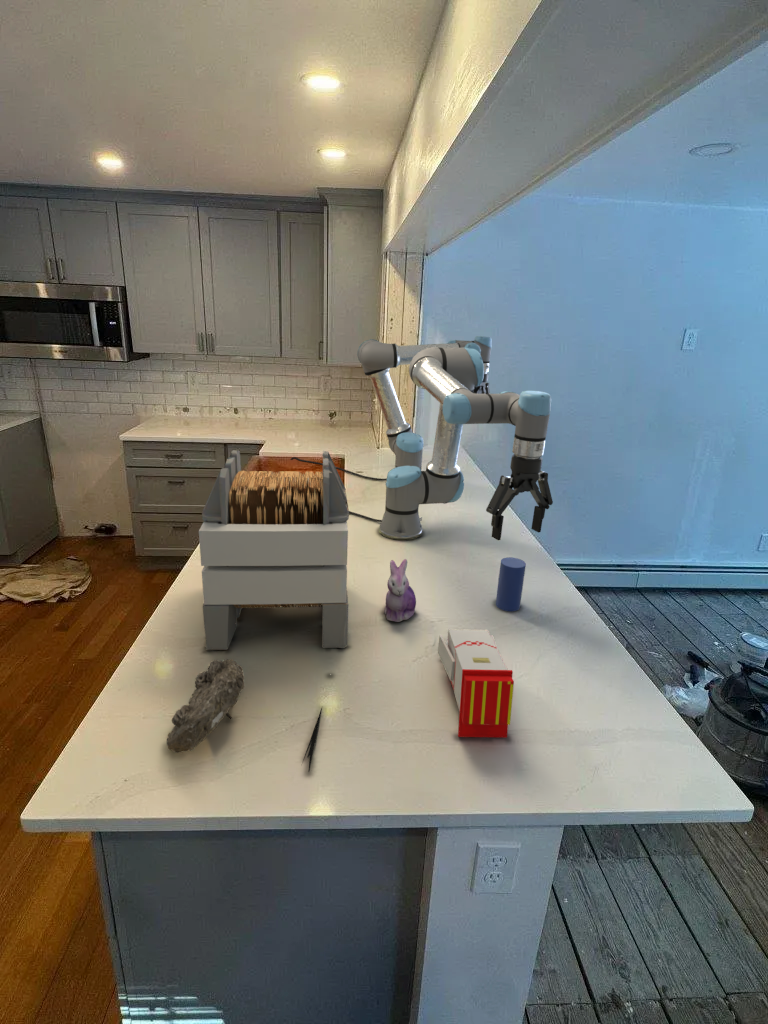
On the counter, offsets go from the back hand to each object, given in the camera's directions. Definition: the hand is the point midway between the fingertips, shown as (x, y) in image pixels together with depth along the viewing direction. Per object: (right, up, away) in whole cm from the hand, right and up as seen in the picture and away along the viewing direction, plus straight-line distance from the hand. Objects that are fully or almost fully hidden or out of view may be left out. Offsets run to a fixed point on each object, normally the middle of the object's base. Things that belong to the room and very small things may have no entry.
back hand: (475, 419), depth 261 cm
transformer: (-68, -68, -116) cm, 151 cm away
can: (-8, -68, -107) cm, 127 cm away
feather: (-54, -82, -152) cm, 181 cm away
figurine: (-38, -69, -114) cm, 138 cm away
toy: (-24, -80, -142) cm, 165 cm away
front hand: (-8, -48, -113) cm, 123 cm away
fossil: (-75, -82, -153) cm, 189 cm away
